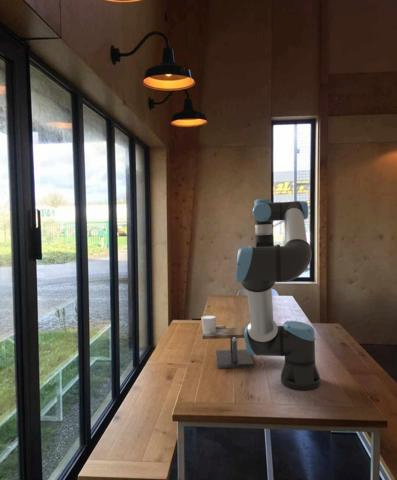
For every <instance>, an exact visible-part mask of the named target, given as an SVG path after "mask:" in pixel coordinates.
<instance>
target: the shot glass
mask: <svg viewBox="0 0 397 480" xmlns="http://www.w3.org/2000/svg"><path fill="white" fill-rule="evenodd" d="M200 318H201V326H202V327H203V330H202V333H210V332H215V329H216V326H217V316H216V315H211V314H208V315H203V316H201V317H200ZM202 327H201V328H202Z"/></svg>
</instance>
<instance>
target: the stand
mask: <svg viewBox="0 0 397 480" xmlns="http://www.w3.org/2000/svg"><path fill="white" fill-rule="evenodd" d="M229 328H234V326H230V327H229ZM229 340H230V342H229V343H230V349H223V350H215V356H216V358H215V359H216V367H217V369H233V368H234V369H236V368H237V369H238V368H255V363H254V360H253V357H252V356H253V355H251V354H249V353H248V352H247V349H246V348H245V349H238V338H237V337H232V341H231V338H229Z"/></svg>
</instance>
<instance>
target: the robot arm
mask: <svg viewBox="0 0 397 480" xmlns="http://www.w3.org/2000/svg"><path fill="white" fill-rule="evenodd" d="M253 202H254V203H253V204H254V205H253V209H252V216H253V218H254V230H255V231H254V233H255V236H254V239H255V245H248V246H244V247H240V248H239V249H238V250H237V256H236V257H237V258H236V266H235V267H236V268H235V270H236V271H235V281H236V282H238V283H239V284H240V283H241V286H242V287H243V288H244V289H245V290H246V294H247V302H248V311H249V323H248V325H245V333H244V337H245V338H244V342H245V343H244V344H245V350H246V349H247V352H248V353H249V354H251V356H258V357H260V356H261V357H262V356H265V357H266V356H267V357H269V356H270V357H284V364H283V367H282V369H281V370H282V371H281V372H280V373H281V374H280V383H281V384H282V385H283V386H284V387H286V388H288V389H292V390H297V391H310V390H314V389H317V388H319V387H320V386H321V382H322V381H321V376H320V372H319V369H318V366H317V365H316V346H315V341H316V337H315V335H316V334H315V330H314V329H315V328H314V327H313V326H311V325H310V324H308V323H305V322H302V321H296V320H289V321H285V322H283V324H282V325H277V322H276V321H275V320H274V309H273V308H274V307H273V293H272V289H273V287H274V286H275V283H276V282H277V283H286V282H291V281H293V280H295V279H297V278H299V277H300V276H302V275H303V273H304V272H305V271H307V269H308V267H309V266H310V264H311V260H312V256H313V255H312V254H313V253H312V252H313V251H312V247H311V245H310V243H309V242H308V240H307V232H306V224H305V220H307V219H308V218H309V207H308V206H309V204H308V201H306V200H305V201H304V200H302V201H300V200H295V201H282V202H281V201H279V202H274V201H273V202H272V200H271V199H270V198H259V199H258V198H257V199H255V200H254V201H253ZM274 221H284V222H283V224H284V225H283V226H284V244H283V245H280V244H275V245H274V240H273V222H274Z"/></svg>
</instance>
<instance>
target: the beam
mask: <svg viewBox="0 0 397 480" xmlns="http://www.w3.org/2000/svg"><path fill="white" fill-rule="evenodd" d="M245 327H246V326H245ZM245 327H233V328H230V327H227V326H226V325H225V324H224V325H216V329H215V332H210V333H203V332H202V333H201V334H202V340H217V339H219V340H220V339H221V340H222V339H224V340H225V339H230V338H231V341H232V337H237V339H245V337H244V333H245ZM201 328H202V331H203V327H201Z"/></svg>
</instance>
